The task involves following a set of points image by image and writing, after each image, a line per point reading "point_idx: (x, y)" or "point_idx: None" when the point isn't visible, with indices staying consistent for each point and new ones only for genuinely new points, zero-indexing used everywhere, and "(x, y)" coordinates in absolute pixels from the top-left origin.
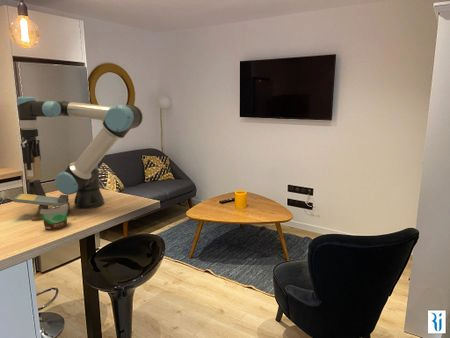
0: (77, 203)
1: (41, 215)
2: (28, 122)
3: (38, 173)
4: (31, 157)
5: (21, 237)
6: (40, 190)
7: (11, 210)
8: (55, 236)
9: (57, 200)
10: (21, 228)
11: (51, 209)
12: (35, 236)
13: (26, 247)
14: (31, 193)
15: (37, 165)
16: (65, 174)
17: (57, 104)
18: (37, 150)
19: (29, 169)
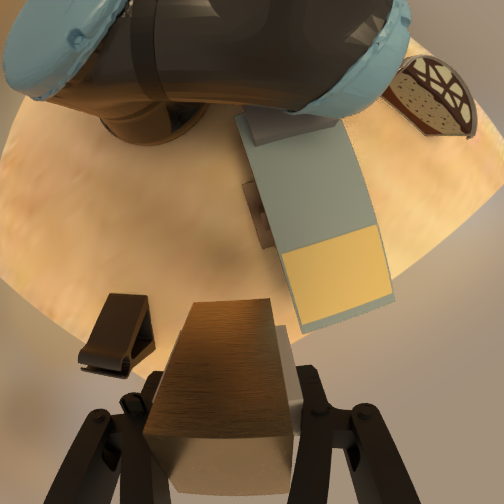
0: (201, 104)
1: None
2: None
3: (233, 319)
4: (305, 456)
5: (464, 180)
6: (110, 329)
7: None
8: None
9: (301, 140)
10: (415, 214)
11: (472, 98)
12: (459, 146)
13: (496, 143)
14: (136, 351)
15: (233, 363)
16: (409, 10)
17: None
18: (86, 495)
19: (315, 372)
